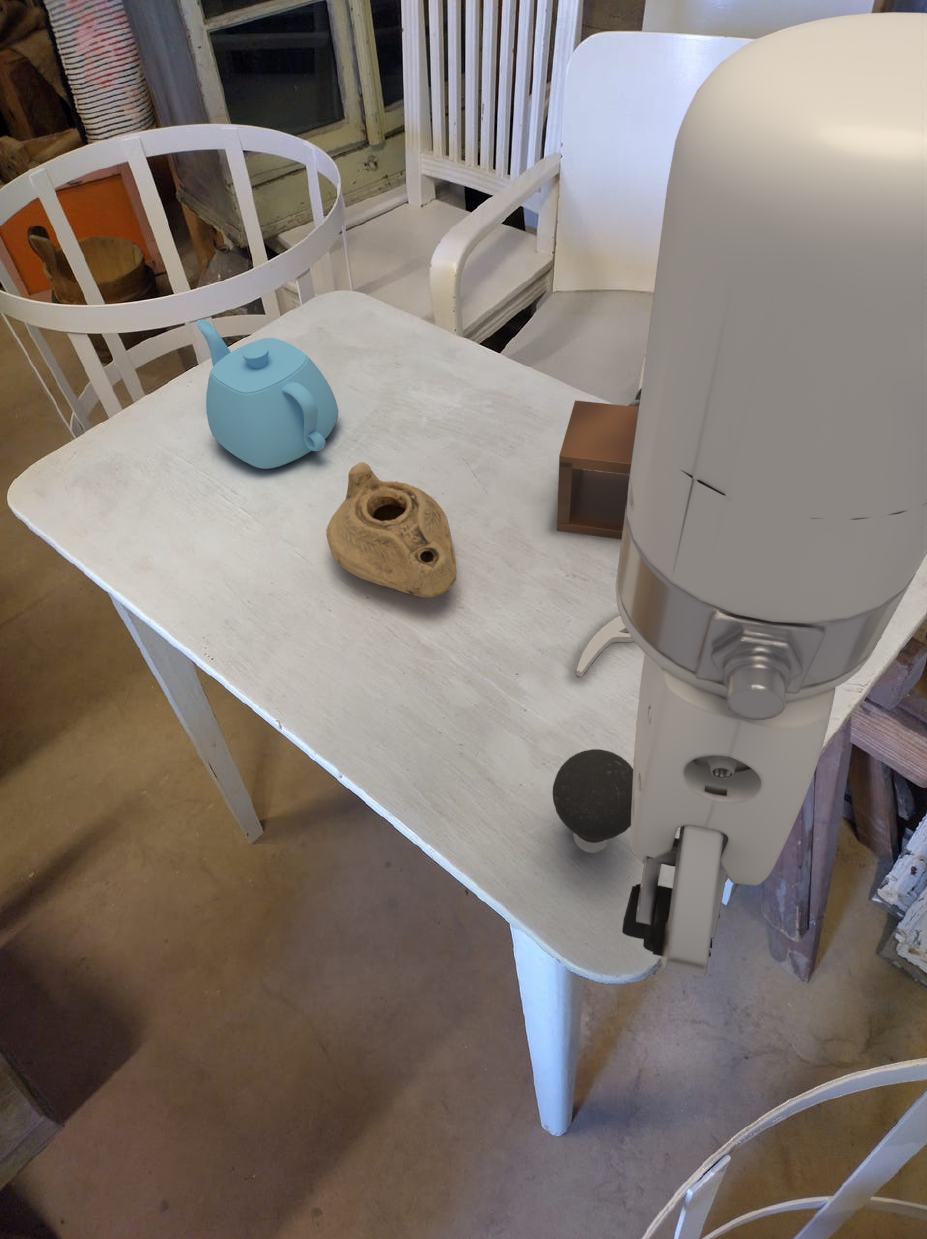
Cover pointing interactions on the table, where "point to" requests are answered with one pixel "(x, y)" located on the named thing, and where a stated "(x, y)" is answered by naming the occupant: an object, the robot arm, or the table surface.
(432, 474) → the table surface
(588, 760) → the light bulb
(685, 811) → the robot arm
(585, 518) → the shelf
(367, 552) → the oil lamp
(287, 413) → the teapot
